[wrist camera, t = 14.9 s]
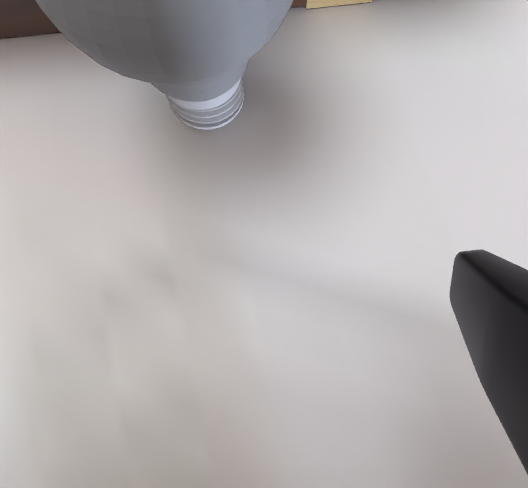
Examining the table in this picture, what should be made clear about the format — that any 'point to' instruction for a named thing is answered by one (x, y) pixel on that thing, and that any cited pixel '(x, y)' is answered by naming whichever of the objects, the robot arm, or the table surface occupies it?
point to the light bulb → (175, 46)
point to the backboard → (36, 22)
